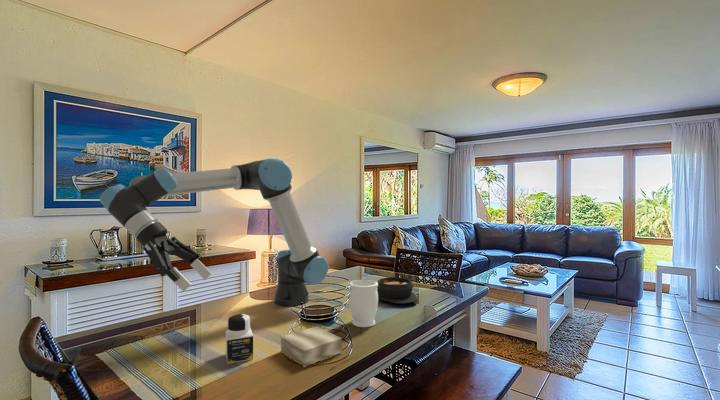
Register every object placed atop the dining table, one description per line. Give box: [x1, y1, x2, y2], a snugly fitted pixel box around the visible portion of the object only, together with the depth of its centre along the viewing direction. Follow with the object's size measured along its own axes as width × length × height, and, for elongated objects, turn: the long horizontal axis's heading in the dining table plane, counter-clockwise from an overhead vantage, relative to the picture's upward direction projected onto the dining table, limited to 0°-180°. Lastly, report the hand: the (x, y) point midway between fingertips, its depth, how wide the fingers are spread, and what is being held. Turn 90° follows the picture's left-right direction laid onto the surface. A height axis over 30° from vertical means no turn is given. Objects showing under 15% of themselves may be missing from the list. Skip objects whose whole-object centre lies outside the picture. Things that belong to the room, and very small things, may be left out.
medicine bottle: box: [225, 313, 254, 365], centre depth 105 cm, size 7×7×12 cm
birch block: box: [280, 325, 343, 366], centre depth 107 cm, size 13×13×5 cm
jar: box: [349, 279, 379, 328], centre depth 131 cm, size 11×10×15 cm
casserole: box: [377, 276, 418, 305], centre depth 161 cm, size 25×19×8 cm
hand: (198, 282), depth 104 cm, fingers open, 13 cm apart
